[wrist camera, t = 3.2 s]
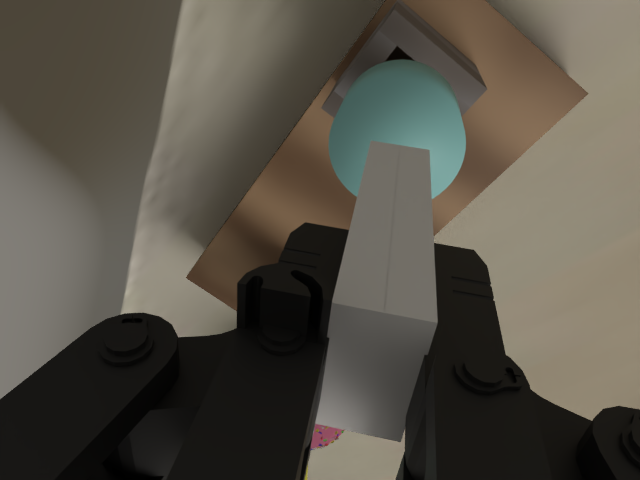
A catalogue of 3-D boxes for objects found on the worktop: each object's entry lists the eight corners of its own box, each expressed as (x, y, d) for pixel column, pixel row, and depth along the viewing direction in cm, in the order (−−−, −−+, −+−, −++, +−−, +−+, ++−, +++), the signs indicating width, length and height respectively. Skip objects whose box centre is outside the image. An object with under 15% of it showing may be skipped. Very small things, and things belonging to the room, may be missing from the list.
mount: (313, 322, 41) (290, 406, 34) (205, 249, 39) (154, 321, 32) (568, 75, 28) (623, 124, 20) (424, -54, 26) (427, -54, 18)
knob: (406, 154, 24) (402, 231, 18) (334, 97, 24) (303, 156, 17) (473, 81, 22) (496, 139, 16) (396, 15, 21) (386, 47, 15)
